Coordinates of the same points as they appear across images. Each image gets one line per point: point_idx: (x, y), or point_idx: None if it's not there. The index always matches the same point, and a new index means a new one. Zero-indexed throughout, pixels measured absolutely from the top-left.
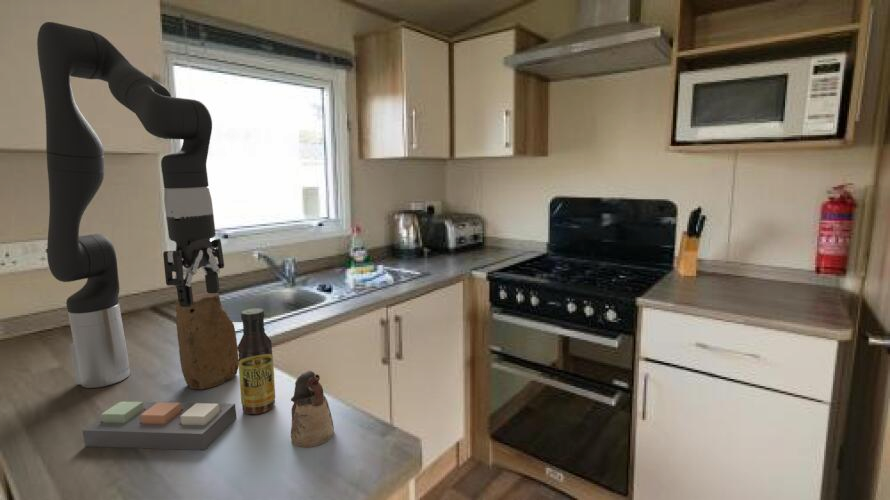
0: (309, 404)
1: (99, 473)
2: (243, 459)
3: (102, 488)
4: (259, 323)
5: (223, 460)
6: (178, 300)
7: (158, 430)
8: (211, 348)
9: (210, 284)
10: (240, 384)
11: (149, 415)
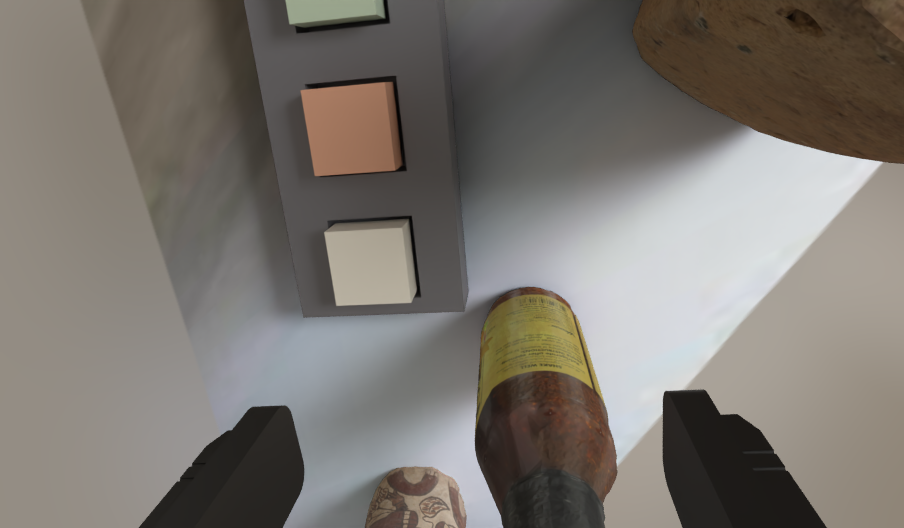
0: None
1: (179, 101)
2: (310, 402)
3: (144, 161)
4: None
5: (297, 363)
6: (200, 454)
7: (288, 182)
8: (736, 90)
9: (689, 483)
10: (494, 339)
11: (306, 124)
